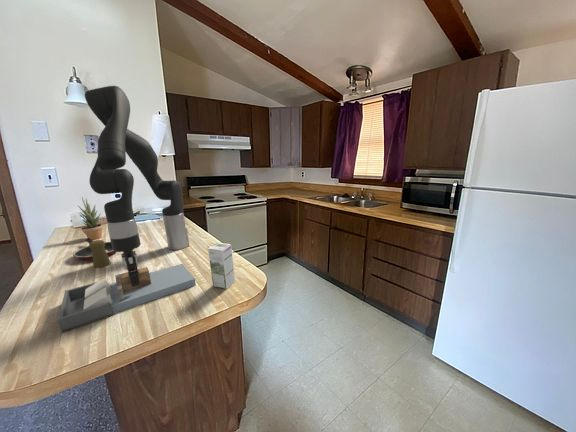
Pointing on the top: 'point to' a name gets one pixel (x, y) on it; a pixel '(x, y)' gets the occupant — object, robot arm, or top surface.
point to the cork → (99, 254)
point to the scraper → (125, 283)
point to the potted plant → (91, 222)
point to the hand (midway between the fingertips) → (134, 280)
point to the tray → (80, 310)
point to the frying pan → (87, 252)
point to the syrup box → (221, 265)
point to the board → (154, 287)
